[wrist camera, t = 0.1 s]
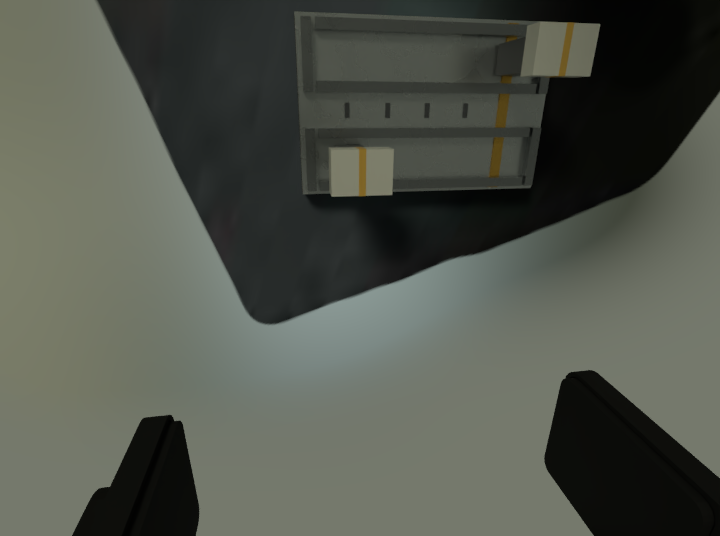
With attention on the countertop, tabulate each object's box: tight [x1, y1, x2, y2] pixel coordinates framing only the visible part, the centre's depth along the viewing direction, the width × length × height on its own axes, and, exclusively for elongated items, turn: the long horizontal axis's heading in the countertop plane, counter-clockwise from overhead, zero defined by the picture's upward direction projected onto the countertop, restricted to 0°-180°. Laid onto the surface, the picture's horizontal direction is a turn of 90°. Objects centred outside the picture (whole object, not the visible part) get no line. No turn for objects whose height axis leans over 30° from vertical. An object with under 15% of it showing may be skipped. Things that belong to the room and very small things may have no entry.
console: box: [294, 12, 550, 194], centre depth 36 cm, size 14×22×3 cm, turn 90°
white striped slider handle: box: [495, 22, 600, 78], centre depth 31 cm, size 3×4×8 cm
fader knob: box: [329, 145, 394, 197], centre depth 32 cm, size 3×4×8 cm
